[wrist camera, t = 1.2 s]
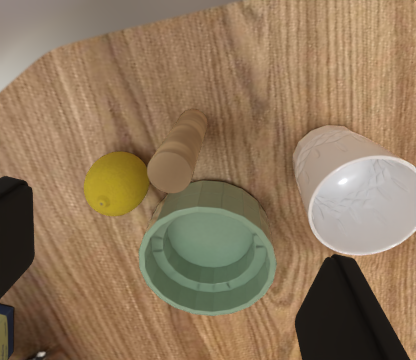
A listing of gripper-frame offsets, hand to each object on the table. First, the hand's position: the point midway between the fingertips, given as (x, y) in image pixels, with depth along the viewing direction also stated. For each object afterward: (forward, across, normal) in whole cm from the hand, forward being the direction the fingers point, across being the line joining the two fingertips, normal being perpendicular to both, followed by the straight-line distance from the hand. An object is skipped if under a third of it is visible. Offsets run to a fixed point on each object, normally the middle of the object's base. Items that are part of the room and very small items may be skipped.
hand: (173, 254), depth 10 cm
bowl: (+21, -3, +13) cm, 25 cm away
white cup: (+21, -12, +2) cm, 24 cm away
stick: (+21, +2, +2) cm, 21 cm away
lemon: (+21, +7, +8) cm, 24 cm away
